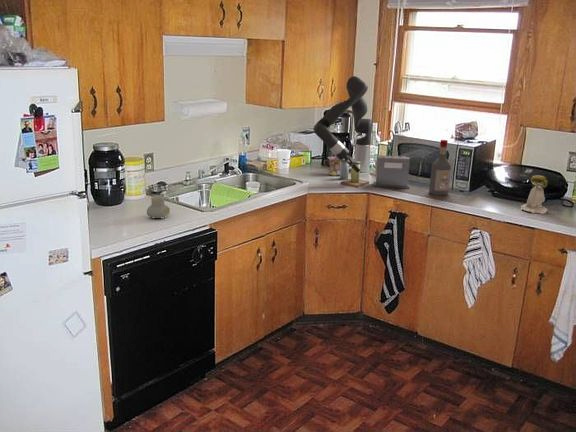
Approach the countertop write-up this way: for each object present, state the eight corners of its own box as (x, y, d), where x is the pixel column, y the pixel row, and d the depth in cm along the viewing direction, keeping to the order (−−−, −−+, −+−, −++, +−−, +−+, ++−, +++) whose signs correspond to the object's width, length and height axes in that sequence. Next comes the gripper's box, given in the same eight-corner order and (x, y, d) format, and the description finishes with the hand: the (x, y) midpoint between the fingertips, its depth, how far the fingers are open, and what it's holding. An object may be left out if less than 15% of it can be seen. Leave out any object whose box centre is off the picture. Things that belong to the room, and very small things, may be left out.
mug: (342, 173, 375) (343, 156, 372) (342, 177, 366) (343, 160, 363) (323, 172, 376) (324, 156, 373) (322, 176, 367) (323, 159, 364)
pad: (351, 180, 359) (351, 178, 359) (368, 183, 352) (369, 181, 352) (340, 183, 350) (340, 181, 350) (357, 187, 343) (358, 185, 343)
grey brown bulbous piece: (161, 221, 276) (160, 200, 273) (145, 219, 278) (143, 199, 275) (171, 214, 286) (171, 194, 283) (156, 213, 288) (155, 193, 285)
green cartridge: (349, 180, 353) (351, 160, 350) (358, 180, 353) (359, 160, 350) (350, 182, 348) (352, 162, 345) (359, 182, 349) (361, 162, 345)
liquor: (450, 195, 332) (456, 141, 323) (435, 196, 330) (441, 142, 321) (441, 190, 341) (446, 138, 332) (427, 191, 338) (432, 139, 329)
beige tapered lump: (516, 206, 313) (521, 172, 308) (540, 207, 314) (545, 173, 309) (526, 213, 302) (531, 178, 297) (550, 213, 303) (556, 178, 297)
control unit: (373, 182, 354) (375, 154, 349) (407, 184, 352) (410, 156, 347) (374, 186, 345) (376, 157, 340) (409, 188, 344) (411, 159, 338)
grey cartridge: (342, 177, 365) (343, 158, 361) (349, 178, 362) (351, 159, 358) (338, 179, 361) (339, 159, 357) (345, 180, 358) (346, 160, 354)
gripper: (333, 152, 352) (351, 171, 356) (335, 157, 339) (354, 177, 343) (342, 143, 351) (361, 162, 355) (345, 148, 337) (364, 168, 341)
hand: (357, 169), depth 349 cm, fingers open, 8 cm apart
